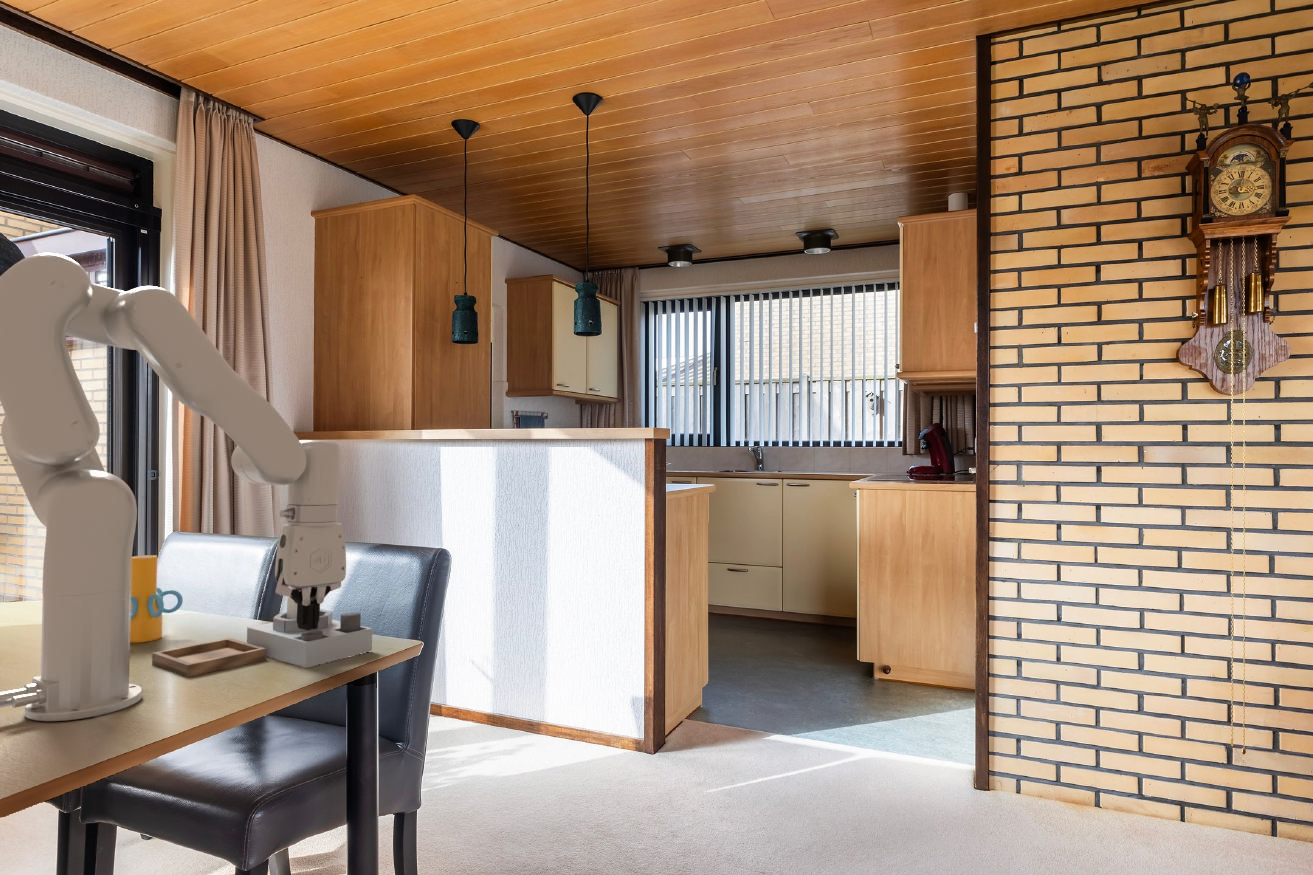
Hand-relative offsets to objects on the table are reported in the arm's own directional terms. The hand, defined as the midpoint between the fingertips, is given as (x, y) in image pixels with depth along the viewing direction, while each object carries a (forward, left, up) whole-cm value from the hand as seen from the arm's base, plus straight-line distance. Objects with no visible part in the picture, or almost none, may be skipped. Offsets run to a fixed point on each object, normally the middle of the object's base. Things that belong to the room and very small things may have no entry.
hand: (307, 628), depth 122 cm
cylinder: (-9, +38, -6) cm, 40 cm away
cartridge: (+4, +8, -2) cm, 10 cm away
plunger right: (+8, 0, -3) cm, 8 cm away
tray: (-9, +13, -6) cm, 17 cm away
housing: (+4, +5, -6) cm, 9 cm away
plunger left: (+1, 0, -4) cm, 4 cm away
